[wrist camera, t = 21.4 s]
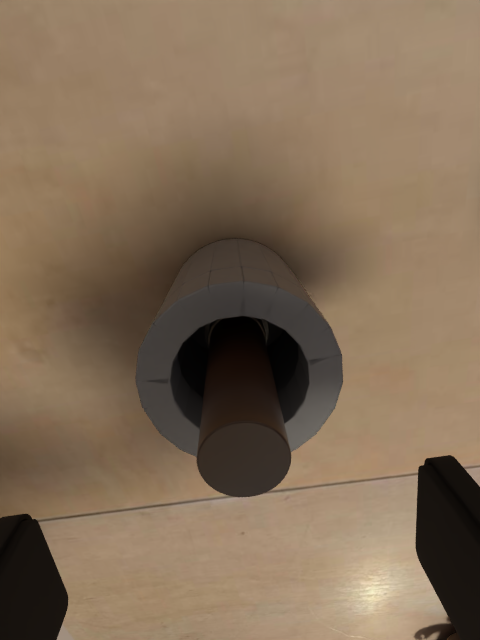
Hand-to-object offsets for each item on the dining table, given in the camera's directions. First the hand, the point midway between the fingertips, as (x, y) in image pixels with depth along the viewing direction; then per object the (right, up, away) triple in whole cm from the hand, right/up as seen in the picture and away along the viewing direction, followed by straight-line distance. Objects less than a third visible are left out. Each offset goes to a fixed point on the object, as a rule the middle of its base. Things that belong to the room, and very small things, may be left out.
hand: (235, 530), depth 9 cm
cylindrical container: (0, +6, +16) cm, 18 cm away
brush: (0, +6, +16) cm, 17 cm away
